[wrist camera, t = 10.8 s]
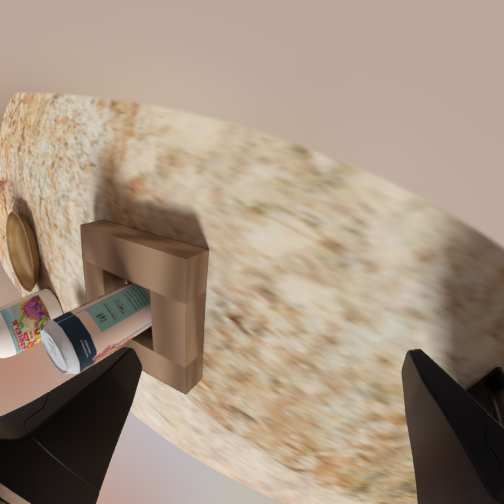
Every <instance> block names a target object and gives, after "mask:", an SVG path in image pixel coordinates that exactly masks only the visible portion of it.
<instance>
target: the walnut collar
mask: <svg viewBox="0 0 504 504" xmlns="http://www.w3.org/2000/svg"><path fill="white" fill-rule="evenodd" d="M80 226H81V246H82V259H83V270H84V279H85V288H86V295H87V302H90V301H92V300H94V299H96V298H98V297H101V296H103V295H105V294H107V293H109V292H111V291H113V290H116V289H118V288H120V287H122V286H124V285H125V279H126V280H128V281H130V282H133V283H135V284H137V285H140V286H142V287H144V288H147V289H149V290H150V300H151V321H152V327H149V328H147V329H146V330H144V331H143V332H141V333H140V334H138V335H136V336H135V337H133V338H132V339H130V340H129V341H127V342H126V343H124V344H123V345H121V346H120V347H118V348H116V349H115V350H113V351H112V352H115V351H117V350H119V349H120V348H122V347H130V348H133V349H134V350H135V351H136V353H137V355H138V357H139V359H140V361H141V363H142V371H144V372H146V373H147V374H149V375H151V376H153V377H154V378H156V379H158V380H160V381H161V382H163V383H165V384H167V385H169V386H170V387H172V388H174V389H176V390H178V391H180V392H182V393H184V394H187V393H188V392H189V391H190V390H191V389H192V388H193V387H194V386H195V385H196V384H197V383H198V382H199V381H200V380H201V379H202V367H203V340H204V319H205V300H206V284H207V269H208V256H209V249H205V248H201V247H198V246H194V245H190V244H187V243H183V242H180V241H176V240H172V239H169V238H165V237H161V236H158V235H154V234H151V233H147V232H144V231H140V230H136V229H133V228H129V227H126V226H122V225H119V224H115V223H112V222H108V221H104V220H99V221H95V222H91V223H87V224H82V225H80Z"/></svg>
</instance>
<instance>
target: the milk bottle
mask: <svg viewBox="0 0 504 504" xmlns="http://www.w3.org/2000/svg"><path fill="white" fill-rule="evenodd" d="M61 315H63V312H62V309H61V306H60V304H59V302H58V300H57V298H56V297H55V295H54V294H53V293H52V291H50V290H49V289H43V290H40V291H38V292H35V293H33V294H30V295H28V296H25V297H23V298H21V299H18V300H16V301H14V302H11V303H9V304H7V305H4V306H2V307H0V358H6V357H10V356H13V355H16V354H18V353H20V352H22V351H24V350H26V349H28V348H30V347H32V346H34V345H36V344H37V343H39V342H41V334H40V332H41V331H42V329H43V328H44V326H45V325H46V323H47V321H48V320H52V319H55V318H57V317H59V316H61Z"/></svg>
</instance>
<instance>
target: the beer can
mask: <svg viewBox="0 0 504 504" xmlns="http://www.w3.org/2000/svg"><path fill="white" fill-rule="evenodd" d="M150 326H152V321H151V300H150V290H149V289H147V288H144V287H142V286H140V285H137V284H135V283H133V282H131V283H129V284H126V285H124V286H122V287H120V288H118V289H116V290H113V291H111V292H109V293H107V294H105V295H103V296H101V297H98V298H96V299H94V300H92V301H90V302H88V303H86V304H84V305H82V306H79V307H77V308H75V309H73V310H71V311H69V312H67V313H65V314H63V315H61V316H59V317H57V318H55V319H52V320H48V321H47V323H46V325H45V326H44V328H43V329H42V331H41V332H40V334H41V341H42V343H43V346H44V348H45V351H46V353H47V355H48V356H49V358H50V360H51V361H52V363H53V364H54V366H55V367H56V368H57V369H58V370H59V371H60V372H61V373H62V374H69V373H73V374H78V373H80V372H81V371H83V370H84V369H86V368H87V367H89V366H90V365H92V364H93V363H95V362H96V361H98V360H100V359H101V358H103V357H104V356H106V355H107V354H109V353H110V352H112V351H113V350H115V349H116V348H118V347H120V346H121V345H123V344H124V343H126V342H127V341H129V340H130V339H132V338H133V337H135V336H136V335H138V334H140V333H141V332H143V331H144V330H146V329H147V328H149V327H150Z"/></svg>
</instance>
